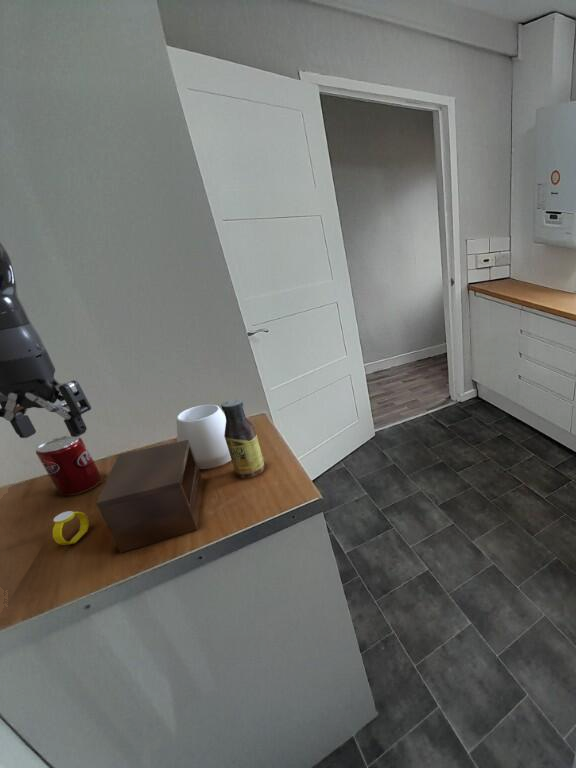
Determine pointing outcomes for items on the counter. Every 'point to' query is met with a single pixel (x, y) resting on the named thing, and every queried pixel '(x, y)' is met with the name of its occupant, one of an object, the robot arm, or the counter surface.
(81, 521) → the watch
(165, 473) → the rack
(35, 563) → the counter surface
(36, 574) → the counter surface
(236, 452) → the sauce bottle
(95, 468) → the soda can
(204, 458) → the cup
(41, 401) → the robot arm
